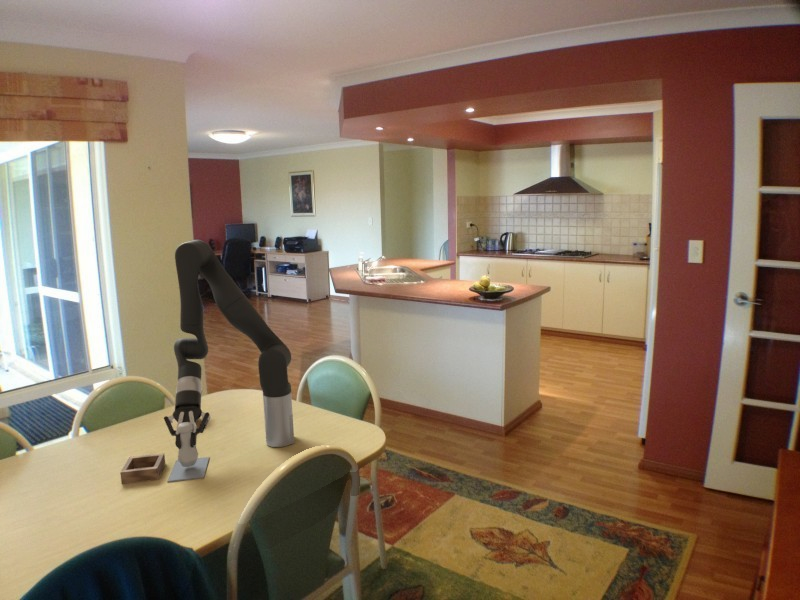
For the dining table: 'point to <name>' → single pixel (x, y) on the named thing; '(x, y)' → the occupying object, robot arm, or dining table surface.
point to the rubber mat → (189, 470)
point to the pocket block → (143, 468)
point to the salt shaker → (186, 445)
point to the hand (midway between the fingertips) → (185, 447)
